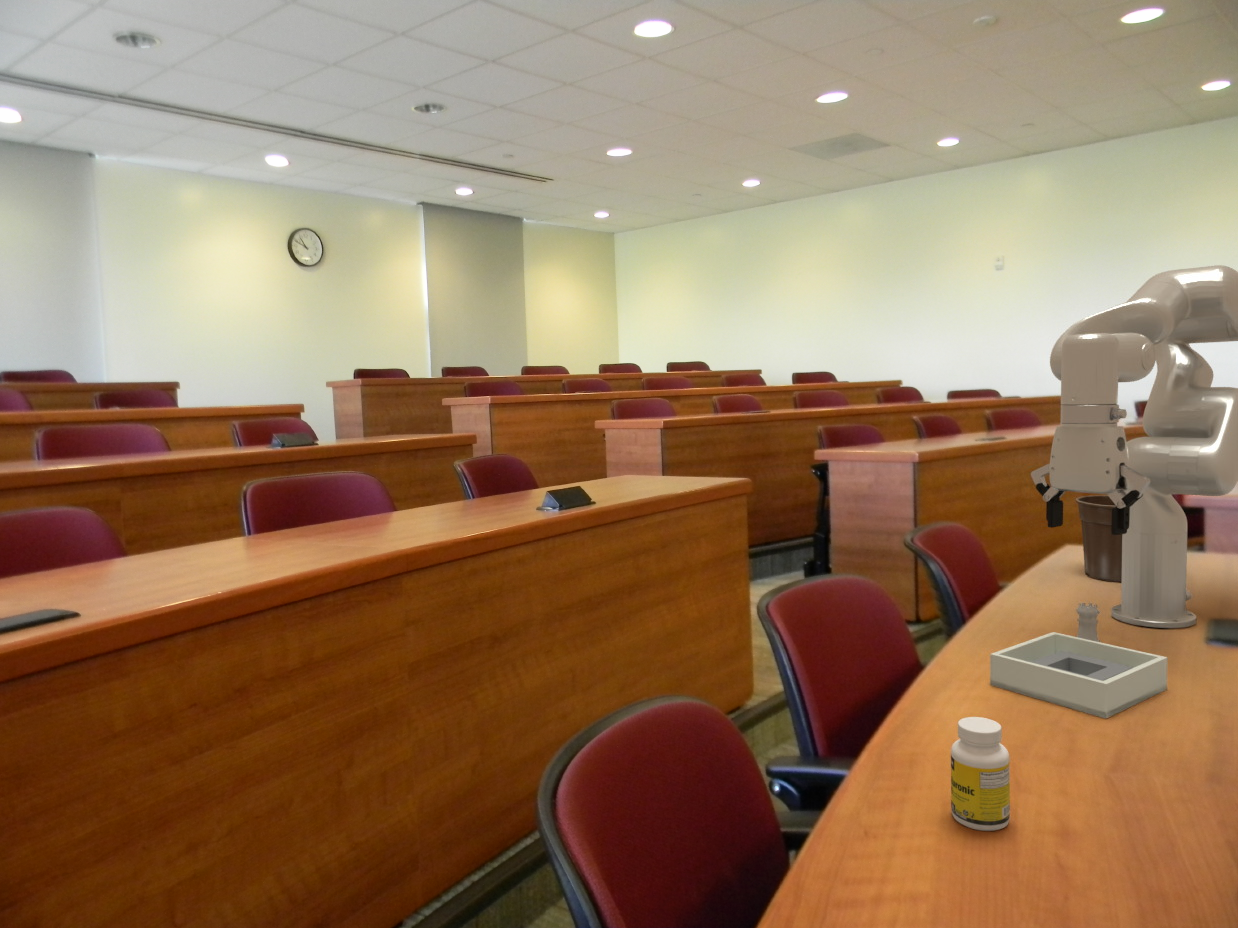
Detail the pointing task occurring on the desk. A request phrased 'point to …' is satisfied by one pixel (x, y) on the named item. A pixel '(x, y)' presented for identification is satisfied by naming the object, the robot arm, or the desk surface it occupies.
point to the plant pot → (1100, 538)
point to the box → (1079, 673)
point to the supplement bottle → (980, 775)
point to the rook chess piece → (1087, 622)
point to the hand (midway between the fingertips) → (1086, 530)
